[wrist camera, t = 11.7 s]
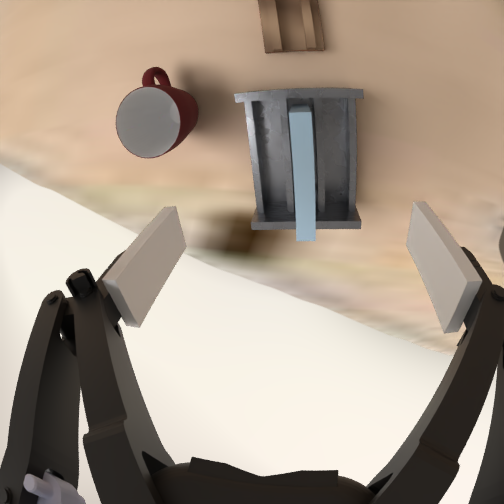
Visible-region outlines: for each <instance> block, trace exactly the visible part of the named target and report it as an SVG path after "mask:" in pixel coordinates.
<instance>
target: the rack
mask: <svg viewBox="0 0 504 504" xmlns="http://www.w3.org/2000/svg"><path fill="white" fill-rule="evenodd" d="M234 96H235V103H239V102H244V106H245V114H246V122H247V130H248V138H249V147H250V155H251V163H252V171H253V180H254V188H255V197H256V205H257V207H256V210H255V213H254V215H253V218H252V221H251V226H252V230H270V229H296V211H295V192H294V175H293V160H292V146H291V133H290V121H289V111H290V109H291V107H292V104H308V106H309V108H310V110H311V115H312V130H313V148H314V172H315V225H316V229H361V219H360V216H359V214H358V211H357V208H356V206H355V200H356V169H357V132H356V102H355V98H362V99H364V97H363V89H353V88H294V89H276V90H263V91H253V92H244V93H237V94H234Z"/></svg>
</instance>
